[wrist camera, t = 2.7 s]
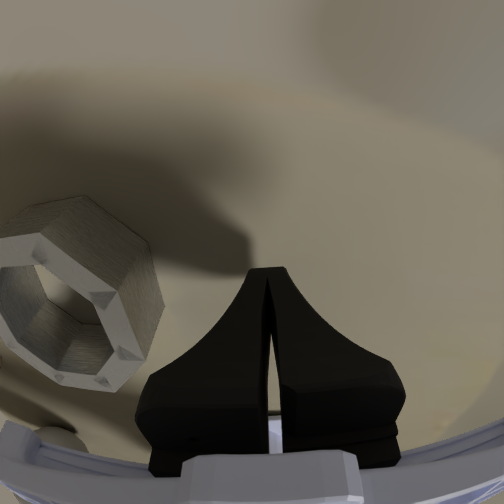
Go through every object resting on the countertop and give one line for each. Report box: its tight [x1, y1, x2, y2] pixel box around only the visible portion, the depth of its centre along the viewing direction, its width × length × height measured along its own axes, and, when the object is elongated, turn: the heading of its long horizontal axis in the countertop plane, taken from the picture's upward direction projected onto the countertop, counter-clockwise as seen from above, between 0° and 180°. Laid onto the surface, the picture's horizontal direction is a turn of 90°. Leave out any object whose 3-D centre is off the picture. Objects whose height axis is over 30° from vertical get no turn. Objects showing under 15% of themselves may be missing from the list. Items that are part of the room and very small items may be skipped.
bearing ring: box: [0, 196, 165, 393], centre depth 12 cm, size 8×8×4 cm
